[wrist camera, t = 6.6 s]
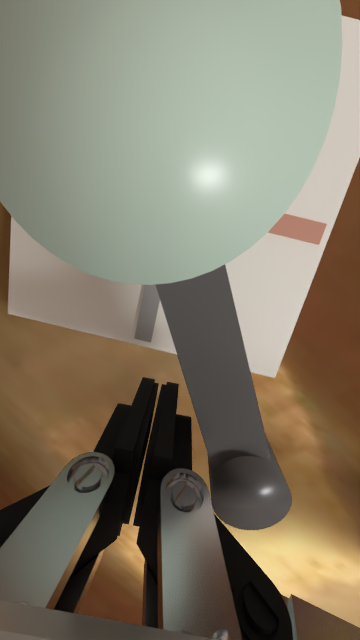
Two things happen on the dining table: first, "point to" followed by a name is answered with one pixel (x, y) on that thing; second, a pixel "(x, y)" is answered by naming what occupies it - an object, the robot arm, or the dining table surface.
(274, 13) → the green round handled piece
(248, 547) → the dining table surface
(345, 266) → the dining table surface
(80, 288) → the post base
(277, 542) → the dining table surface
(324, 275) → the dining table surface
